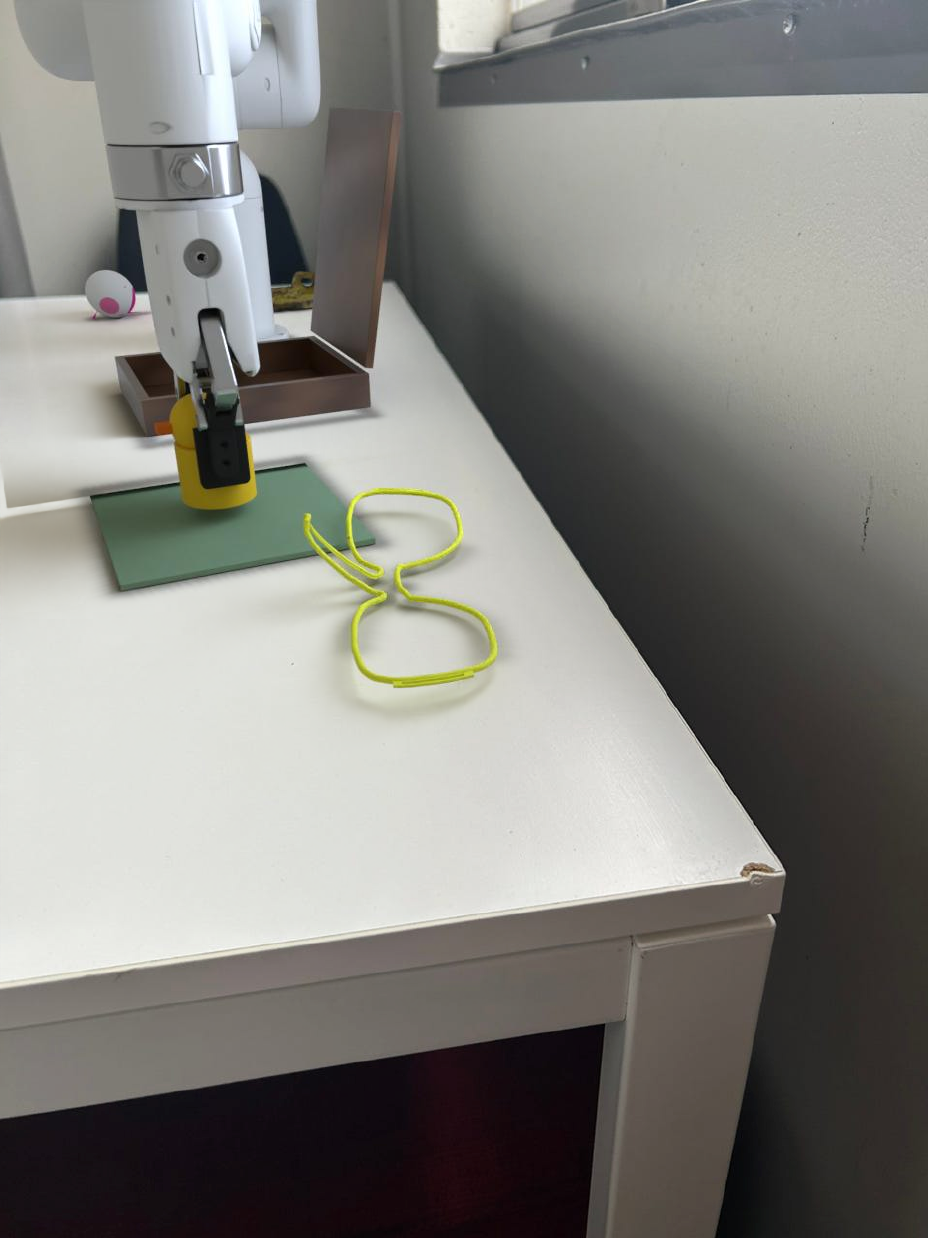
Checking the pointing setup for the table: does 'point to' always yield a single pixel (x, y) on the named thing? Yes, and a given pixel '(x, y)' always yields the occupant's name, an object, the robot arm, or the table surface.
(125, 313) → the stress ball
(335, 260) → the lid
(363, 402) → the chest
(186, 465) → the duck
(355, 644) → the glasses
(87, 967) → the table surface
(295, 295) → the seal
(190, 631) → the table surface
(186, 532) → the mat
